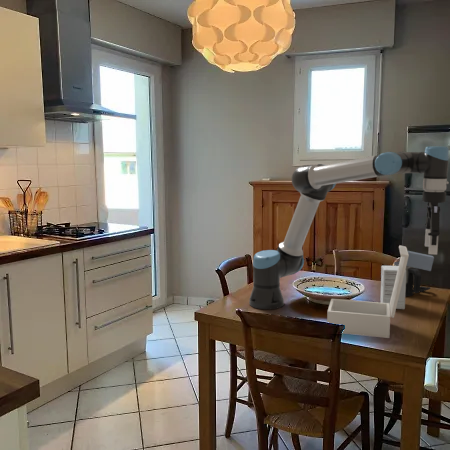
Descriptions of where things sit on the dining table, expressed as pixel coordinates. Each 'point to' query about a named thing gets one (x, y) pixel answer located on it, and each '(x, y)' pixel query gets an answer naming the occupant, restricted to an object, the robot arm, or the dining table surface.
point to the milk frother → (411, 274)
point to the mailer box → (360, 317)
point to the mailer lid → (406, 260)
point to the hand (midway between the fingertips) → (430, 250)
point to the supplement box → (391, 286)
